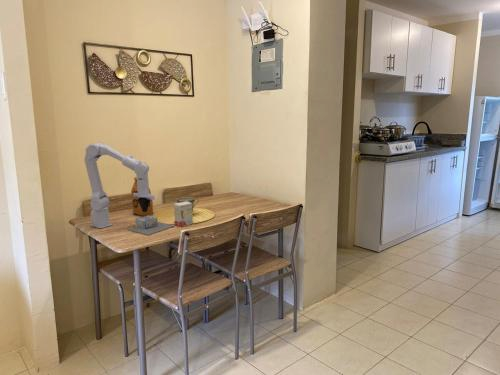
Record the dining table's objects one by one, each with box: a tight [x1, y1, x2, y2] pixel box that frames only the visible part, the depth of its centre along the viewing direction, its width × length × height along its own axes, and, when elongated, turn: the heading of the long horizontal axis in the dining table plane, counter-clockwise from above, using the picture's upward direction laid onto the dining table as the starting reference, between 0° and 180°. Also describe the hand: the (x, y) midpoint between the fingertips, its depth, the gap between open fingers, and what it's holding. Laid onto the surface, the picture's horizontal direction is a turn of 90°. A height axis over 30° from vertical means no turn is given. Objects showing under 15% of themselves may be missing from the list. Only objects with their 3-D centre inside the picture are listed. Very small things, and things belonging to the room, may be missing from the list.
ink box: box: [173, 201, 194, 228], centre depth 197 cm, size 9×5×12 cm, turn 135°
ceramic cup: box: [176, 196, 200, 215], centre depth 217 cm, size 13×10×10 cm
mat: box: [127, 221, 176, 236], centre depth 192 cm, size 16×18×1 cm
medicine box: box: [135, 215, 159, 229], centre depth 195 cm, size 8×4×9 cm
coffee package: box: [130, 176, 154, 217], centre depth 220 cm, size 10×12×22 cm
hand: (144, 211), depth 195 cm, fingers closed
